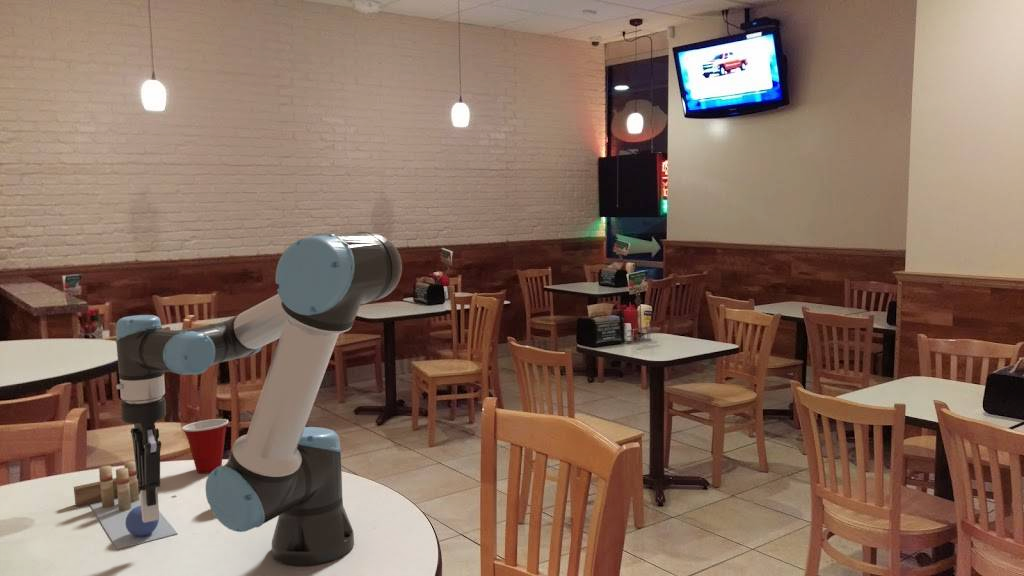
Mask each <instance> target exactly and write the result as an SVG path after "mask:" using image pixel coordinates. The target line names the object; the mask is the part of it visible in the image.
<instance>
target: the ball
mask: <svg viewBox="0 0 1024 576" xmlns="http://www.w3.org/2000/svg"><path fill="white" fill-rule="evenodd" d="M158 521H159V519H158V520H154V521H150V522H146V523H144V522H143V521H142V509H141V506H137V507H135V508H134V509H132V510H131V511H130V512H129V514H128V515H127V517H126V528H127V530H128V531H129V532H130V533H131V534H132V535H134V536H139V537H142V536H146V535H148V534H150V533H152V532H153V531H154V530H155V529H156V527H157V525H158Z"/></svg>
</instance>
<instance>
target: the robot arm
mask: <svg viewBox="0 0 1024 576" xmlns="http://www.w3.org/2000/svg"><path fill="white" fill-rule="evenodd" d="M402 263H403V262H402V257H401V253H399V250H398V249H397V247H396V246H395V245H394V244H393V242H392V241H390V240H389V239H388V238H387V237H385V236H383V235H381V234H379V233H377V232H371V231H358V232H348V233H336V234H332V233H317V234H313V235H311V236H307V237H302V238H300V239H298V240H295V241H294V242H293V243H291V244H290V245H289V246H288V247H287V248H286V249H285V250H284V252H282V254H281V257H280V258H279V260H278V264H277V266H276V271H275V284H277V285H278V288H277V289H276V291H277V294H275V295H272V296H271V297H269V298H268V299H266V300H264V301H261V302H260V303H258V304H256V305H254V306H252V307H251V308H248V309H246V310H244V311H242V312H241V313H239V314H237V315H235V316H233V317H231V318H229V319H227V320H224V321H221V322H216V323H211V324H210V323H209V324H205V325H201V326H195V327H194V326H193V327H189V328H185V329H184V328H183V329H178V330H175V329H173V330H172V329H165V328H164V329H163V326H162V322H161V319H160V317H159V316H156V315H154V314H138V315H131V316H129V315H128V316H124V317H122V318H119V320H117V322H116V323H115V324H116V326H115V327H116V329H115V330H116V331H115V332H116V337H115V343H116V352H117V353H116V355H117V365H118V366H117V367H118V378H119V382H120V383H118V384H116V389H117V390H120V399H121V400H122V401H121V403H120V409H121V411H120V412H121V420H122V422H124V423H126V424H131V425H133V428H131V429H130V435H131V439H132V445H133V454H134V461H135V464H136V473H137V476H136V478H137V479H138V480H139V484H140V487H138V489H139V491H140V494H141V509H142V521H143V522H144V523H146V522H150V521H154V520H158V519H159V511H160V507H159V493H158V491H159V490H158V488H160V487H161V449H162V441H161V440H159V438H160V430H159V428H156V424H155V423H156V422H157V421H160V420H162V419H164V418H165V417H166V415H167V408H166V407H167V405H166V398H165V397H164V395H165V394H166V385H165V383H166V382H165V373H164V372H167V373H173V374H176V375H183V376H188V375H201V374H204V373H205V372H206V371H207V370H208V369H209V368H210V367H211V366H213V365H217V364H220V363H224V362H229V361H232V360H237V359H244V358H247V357H250V356H252V355H254V354H258V353H259V352H260V351H261V350H262V349H263V347H264V346H266V345H268V344H271V343H272V342H275V341H277V340H278V342H277V344H276V345H277V346H276V348H275V350H274V354H273V356H272V357H273V358H272V360H271V362H270V366H269V368H268V371H267V373H266V378H265V381H264V383H263V386H262V389H261V392H260V395H259V398H258V401H257V404H256V407H255V410H254V413H253V414H252V415H253V416H252V419H251V421H250V425H249V427H248V431H247V432H246V433H247V434H243V435H241V436H239V437H238V438H236V440H235V441H234V443H233V445H232V448H231V451H230V453H229V457H228V459H227V462H226V463H225V464H224V465H222V466H219V467H217V468H216V469H215V470H213V471H212V472H211V473H208V476H207V477H206V480H205V481H206V482H205V496H206V500H207V503H208V505H209V507H210V511H211V512H212V514H213V516H214V517H215V518H216V520H218V521H219V523H220V524H222V525H223V526H224V527H225V528H227V529H228V530H231V531H234V532H238V533H243V532H247V531H250V530H253V529H255V528H260V527H261V526H263V525H264V524H266V523H268V522H269V521H271V520H273V519H275V518H277V517H278V518H277V521H276V525H275V529H274V532H273V536H272V540H271V554H272V557H273V559H275V560H276V562H279V563H281V564H285V565H289V566H299V567H300V566H302V567H303V566H313V565H321V564H325V563H329V562H331V561H335V560H337V559H340V558H342V557H344V556H346V554H348V553H349V552H350V551H351V550H352V549H353V548H354V546H355V537H354V536H355V535H354V533H355V532H354V530H353V528H352V525H351V521H350V520H349V517H348V515H347V512H346V509H345V507H344V502H343V499H344V498H343V477H342V449H341V442H340V437H339V436H340V435H338V433H337V432H336V431H335V430H333V429H330V428H326V427H316V426H306V425H307V423H308V420H309V418H310V415H311V412H312V409H313V406H314V403H315V401H316V398H317V396H318V393H319V390H320V387H321V385H322V381H323V379H324V377H325V373H326V372H327V371H326V370H327V368H328V366H329V362H330V359H331V356H332V355H333V352H334V349H335V346H336V344H337V341H338V339H339V335H341V334H343V333H345V332H348V331H350V330H351V329H352V327H353V325H354V322H355V319H356V317H357V314H358V313H359V309H360V307H361V306H364V305H366V304H368V303H371V302H375V301H379V300H381V299H383V298H385V297H387V296H388V295H390V294H391V293H392V292H393V291H395V289H396V288H397V286H398V284H399V282H400V280H401V276H402V273H403V272H402V271H403V264H402Z"/></svg>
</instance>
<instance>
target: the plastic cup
mask: <svg viewBox="0 0 1024 576" xmlns="http://www.w3.org/2000/svg"><path fill="white" fill-rule="evenodd" d="M228 424H229V419H226V418H214V419H213V418H212V419H205V420H200V421H199V420H198V421H195V422H191V423H188V424H186V425H184V426H182V428H181V429H182V431H183V432H184V434H185V436H186V439H187V442H188V445H189V448H190V452H191V456H192V459H193V462H194V466H195V470H196V473H198V474H210V473H211V472H212V471H213V470H215V469H216V468H217V467H219V466H223V459H224V458H223V457H224V451H225V450H224V449H225V441H226V431H227V427H228V426H227V425H228Z"/></svg>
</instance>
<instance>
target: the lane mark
mask: <svg viewBox="0 0 1024 576" xmlns="http://www.w3.org/2000/svg"><path fill="white" fill-rule="evenodd" d="M114 504H115V505H114V506H113V507H110V508H102V501H101V502H96V503H92V504H89V506H90V507H91V510H92V511H93V512H94V515H95V516H96V517H97V519H98V520H99V522H100V524H101V525H102V527H103V529H104V530H105V532H106V534H107V536H109V538H110V540H111V542H112V543H113V546H114V547H115V549H116V550H117V551H118V550H122V549H126V548H130V547H133V546H138V545H141V544H145V543H149V542H153V541H156V540H159V539H161V540H162V539H164V538H168V537H173V536H176V535H178V532H177V531H176V530H175V528H174V527H173V526H172V525H171V523H170V522H169V521H168V519H166V517H165V516H164V515H163V513H162V512H161V511H160V510H159V521H158V525H157V527H156V529H155V530H154V531H153V532H152V533H150V534H148V535H146V536H142V537H139V536H134V535H132V534H131V533H130V532H129V531H128V530H127V528H126V517H127V515H128V514H129V512H130V511H131V510H132V509H134V508H135V507H137V506H141V494H140V493H139V500H138V501H136V502H131V509H130V510H127V511H119V505H118V498H114Z"/></svg>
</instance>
